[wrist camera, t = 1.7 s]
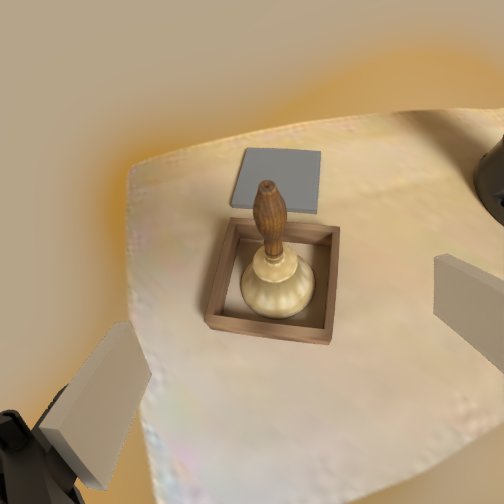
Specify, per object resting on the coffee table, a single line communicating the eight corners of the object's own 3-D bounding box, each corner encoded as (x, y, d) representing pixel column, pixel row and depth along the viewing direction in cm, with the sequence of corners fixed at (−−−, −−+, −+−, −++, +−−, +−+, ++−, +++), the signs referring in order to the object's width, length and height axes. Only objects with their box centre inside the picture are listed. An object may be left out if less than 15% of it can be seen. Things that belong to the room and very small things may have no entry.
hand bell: (257, 243, 38) (234, 141, 24) (324, 262, 36) (336, 160, 22) (229, 305, 34) (184, 221, 21) (301, 329, 32) (304, 254, 18)
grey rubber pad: (320, 155, 44) (320, 151, 43) (316, 214, 39) (316, 210, 38) (248, 151, 46) (247, 147, 46) (232, 207, 41) (231, 203, 40)
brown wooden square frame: (337, 241, 37) (340, 226, 34) (328, 345, 31) (331, 338, 28) (235, 231, 39) (230, 217, 37) (211, 329, 33) (203, 320, 31)
